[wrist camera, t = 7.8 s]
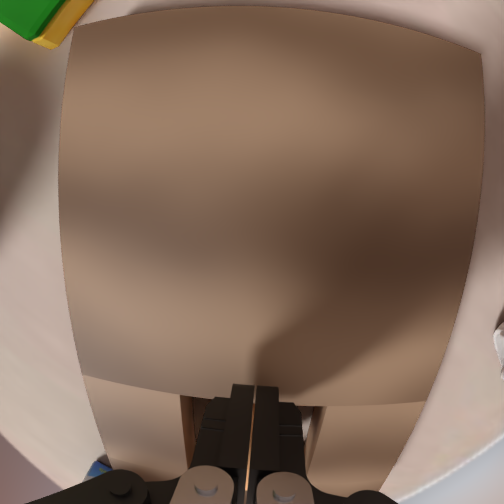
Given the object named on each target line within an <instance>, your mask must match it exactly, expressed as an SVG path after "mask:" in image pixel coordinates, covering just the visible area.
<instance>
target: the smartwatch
mask: <svg viewBox="0 0 504 504" xmlns="http://www.w3.org/2000/svg"><path fill="white" fill-rule="evenodd" d="M493 337H494V344H495V349H496V352H497V355H498V358H499V360H500V364H501V378H502V379H503V380H504V322H503V323H502V324H500V326H499V327H498V328H497V329H496V330H495V333H494V336H493Z"/></svg>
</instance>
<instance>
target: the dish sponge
mask: <svg viewBox="0 0 504 504" xmlns="http://www.w3.org/2000/svg"><path fill="white" fill-rule="evenodd" d="M93 1H94V0H0V22H1V23H2V24H4V25H5V26H7V27H8V28H10V29H11V30H13V31H14V32H16V33H17V34H19V35H20V36H22V37H23V38H25V39H26V40H29V41H32V42H34V43H36V44H39V45H41V46H43V47H46V48H48V49H50V50H51V49H53V48H55V47H58V46H59V45H60V44H61V42H62V41H63V40H64V38H65V37H66V36H67V34H68V33H69V31H70V30H71V29H72V27H73V26H74V25H75V24H76V22H77V21H78V20H79V18H80V17H81V16H82V15H83V13H84V12H85V11H86V10H87V8H88V7H89V6H90V5H91V4H92V2H93Z"/></svg>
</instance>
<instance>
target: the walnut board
mask: <svg viewBox="0 0 504 504" xmlns="http://www.w3.org/2000/svg"><path fill="white" fill-rule="evenodd" d="M484 137H485V108H484V84H483V70H482V59H481V54H480V53H477V52H475V51H472V50H470V49H468V48H465V47H462V46H460V45H457V44H454V43H452V42H449V41H446V40H443V39H440V38H437V37H434V36H431V35H428V34H425V33H421V32H418V31H415V30H411V29H408V28H404V27H400V26H396V25H392V24H388V23H384V22H380V21H375V20H371V19H366V18H361V17H355V16H350V15H344V14H338V13H331V12H324V11H316V10H308V9H298V8H285V7H269V6H208V7H192V8H179V9H169V10H161V11H153V12H146V13H139V14H133V15H127V16H122V17H117V18H112V19H107V20H102V21H98V22H94V23H90V24H85V25H82V26H78V27H75V28H74V32H73V37H72V42H71V47H70V53H69V59H68V65H67V71H66V78H65V85H64V93H63V102H62V113H61V125H60V140H59V170H58V193H59V223H60V239H61V251H62V262H63V271H64V279H65V287H66V294H67V301H68V308H69V314H70V319H71V325H72V330H73V336H74V341H75V345H76V350H77V355H78V359H79V363H80V368H81V372H82V376H83V380H84V383H85V387H86V391H87V395H88V398H89V402H90V405H91V408H92V412H93V415H94V418H95V421H96V424H97V427H98V430H99V433H100V436H101V439H102V442H103V445H104V448H105V450H106V453H107V456H108V458H109V461H110V464H111V466H112V469H113V470H116V469H124V470H129V471H132V472H134V473H136V474H138V475H139V476H140V477H141V478H142V479H143V480H144V481H145V482H150V481H167V480H172V479H175V478H177V477H179V476H181V475H182V474H183V473H184V472H186V471H187V470H188V468H189V467H190V465H191V462H192V458H193V454H194V450H195V447H196V444H195V431H194V417H193V400H192V397H199V398H207V399H213V398H214V397H215V396H216V397H225V398H230V396H231V390H232V385H233V383H234V384H246V385H255V388H254V399H253V403H255V399H256V388H257V385H259V386H274V387H279V402H294V404H295V405H296V406H314V410H313V414H312V418H311V422H310V426H309V430H308V434H307V438H306V442H305V446H304V455H305V467H306V475H307V478H308V480H309V481H310V483H311V484H312V485H313V486H314V487H316V488H317V489H319V490H320V491H322V492H325V493H328V494H333V495H337V496H342V497H349V496H350V495H351V494H353V493H355V492H358V491H362V490H374V491H379V490H380V488H381V487H382V485H383V483H384V482H385V480H386V478H387V477H388V475H389V473H390V472H391V470H392V468H393V466H394V465H395V463H396V461H397V459H398V457H399V455H400V454H401V452H402V450H403V448H404V446H405V444H406V442H407V440H408V438H409V436H410V434H411V432H412V430H413V428H414V426H415V424H416V422H417V420H418V418H419V415H420V413H421V411H422V409H423V407H424V404H425V402H426V400H427V397H428V395H429V393H430V390H431V388H432V385H433V383H434V380H435V378H436V375H437V373H438V370H439V367H440V365H441V362H442V359H443V356H444V354H445V351H446V348H447V345H448V342H449V339H450V336H451V333H452V329H453V326H454V323H455V320H456V316H457V313H458V309H459V305H460V302H461V298H462V294H463V290H464V286H465V282H466V278H467V273H468V269H469V264H470V259H471V254H472V249H473V244H474V238H475V232H476V226H477V219H478V212H479V205H480V196H481V187H482V175H483V161H484ZM246 499H247V490H245V496H244V504H246Z"/></svg>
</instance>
